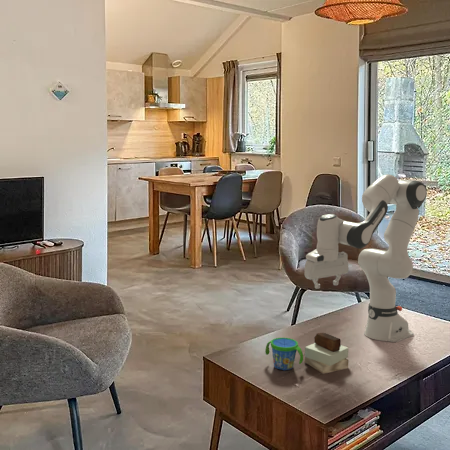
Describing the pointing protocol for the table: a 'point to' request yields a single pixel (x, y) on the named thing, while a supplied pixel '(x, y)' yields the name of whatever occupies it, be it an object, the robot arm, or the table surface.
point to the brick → (327, 341)
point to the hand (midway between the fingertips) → (326, 286)
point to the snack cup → (284, 352)
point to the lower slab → (326, 368)
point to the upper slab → (325, 354)
